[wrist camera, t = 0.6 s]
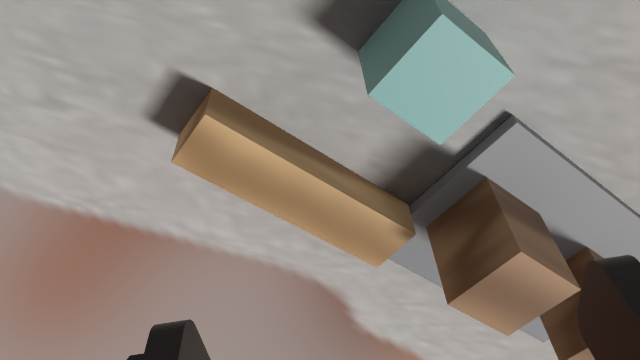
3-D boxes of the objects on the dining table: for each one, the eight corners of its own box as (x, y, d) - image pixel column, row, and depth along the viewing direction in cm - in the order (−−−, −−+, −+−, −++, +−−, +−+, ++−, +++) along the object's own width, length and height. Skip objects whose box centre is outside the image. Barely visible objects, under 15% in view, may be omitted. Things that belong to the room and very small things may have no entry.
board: (512, 114, 29) (517, 122, 28) (680, 247, 36) (687, 255, 35) (370, 240, 35) (371, 249, 34) (539, 333, 42) (543, 342, 41)
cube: (420, -23, 24) (442, 13, 21) (485, 33, 26) (515, 75, 22) (357, 50, 26) (367, 94, 23) (421, 97, 28) (440, 145, 25)
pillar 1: (486, 176, 30) (521, 251, 26) (539, 213, 32) (581, 289, 28) (425, 227, 33) (447, 304, 28) (479, 258, 35) (507, 336, 30)
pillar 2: (587, 246, 34) (632, 322, 30) (629, 275, 36) (678, 351, 32) (526, 287, 37) (560, 363, 32) (569, 312, 39) (606, 387, 34)
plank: (212, 84, 27) (205, 114, 25) (407, 201, 33) (416, 234, 31) (181, 130, 29) (171, 162, 27) (371, 233, 35) (377, 267, 32)
